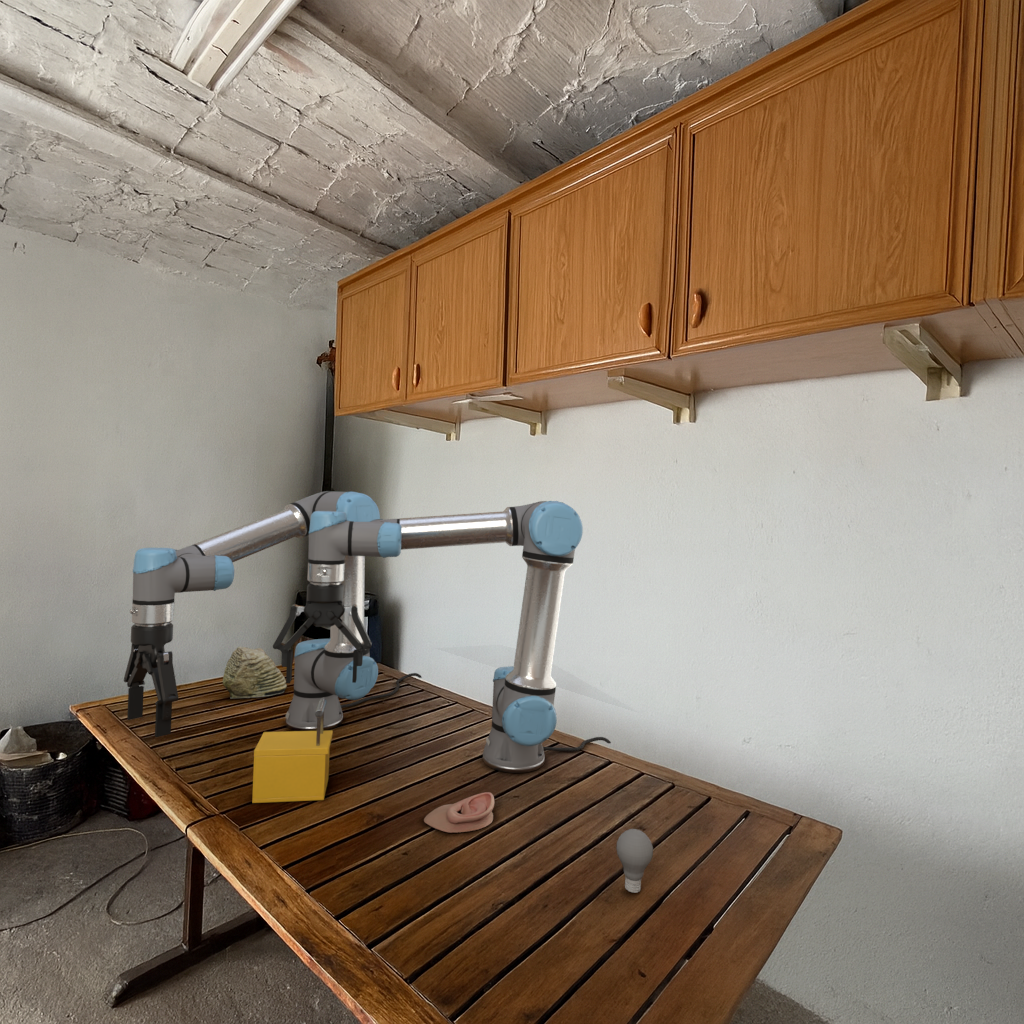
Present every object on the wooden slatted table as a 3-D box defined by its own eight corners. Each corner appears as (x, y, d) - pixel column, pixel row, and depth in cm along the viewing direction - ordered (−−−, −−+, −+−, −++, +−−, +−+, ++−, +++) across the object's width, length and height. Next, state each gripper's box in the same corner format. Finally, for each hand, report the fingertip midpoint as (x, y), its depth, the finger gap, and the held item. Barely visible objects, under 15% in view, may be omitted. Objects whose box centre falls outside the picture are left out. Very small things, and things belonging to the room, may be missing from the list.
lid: (332, 736, 142) (334, 696, 142) (328, 754, 132) (329, 711, 132) (263, 737, 140) (265, 697, 139) (253, 756, 130) (255, 713, 129)
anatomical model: (419, 808, 122) (437, 782, 134) (418, 828, 122) (437, 801, 134) (485, 817, 120) (499, 791, 131) (484, 838, 120) (498, 810, 131)
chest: (328, 778, 142) (330, 736, 142) (323, 800, 132) (325, 754, 132) (262, 781, 140) (263, 738, 140) (252, 803, 130) (253, 756, 130)
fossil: (218, 695, 195) (220, 647, 195) (278, 685, 208) (279, 640, 207) (228, 703, 189) (230, 653, 188) (289, 692, 201) (290, 645, 201)
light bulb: (610, 879, 108) (613, 822, 108) (644, 879, 109) (647, 822, 109) (619, 902, 102) (622, 840, 102) (655, 901, 103) (658, 840, 103)
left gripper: (108, 616, 135) (104, 715, 135) (159, 635, 119) (154, 748, 119) (146, 612, 141) (142, 707, 141) (199, 630, 125) (195, 737, 125)
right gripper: (260, 584, 130) (257, 687, 130) (384, 586, 135) (380, 685, 135) (267, 579, 137) (264, 676, 138) (385, 581, 142) (381, 675, 142)
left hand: (148, 726), depth 130 cm, fingers open, 13 cm apart
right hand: (321, 681), depth 136 cm, fingers open, 13 cm apart
